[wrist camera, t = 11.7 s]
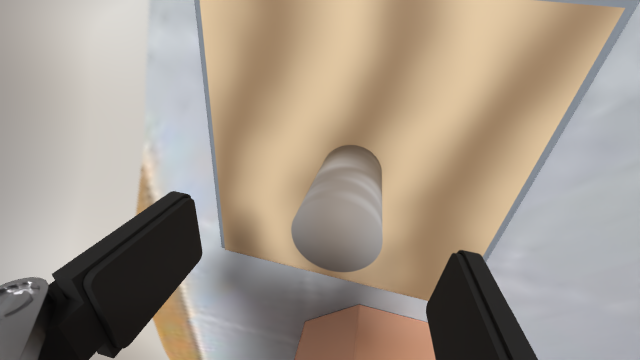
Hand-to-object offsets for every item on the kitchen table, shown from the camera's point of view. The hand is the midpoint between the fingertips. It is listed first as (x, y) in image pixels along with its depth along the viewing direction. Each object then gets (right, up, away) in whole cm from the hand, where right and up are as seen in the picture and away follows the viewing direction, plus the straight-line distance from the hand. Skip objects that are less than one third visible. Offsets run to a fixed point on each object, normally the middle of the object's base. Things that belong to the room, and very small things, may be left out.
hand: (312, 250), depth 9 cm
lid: (+2, +3, +7) cm, 8 cm away
